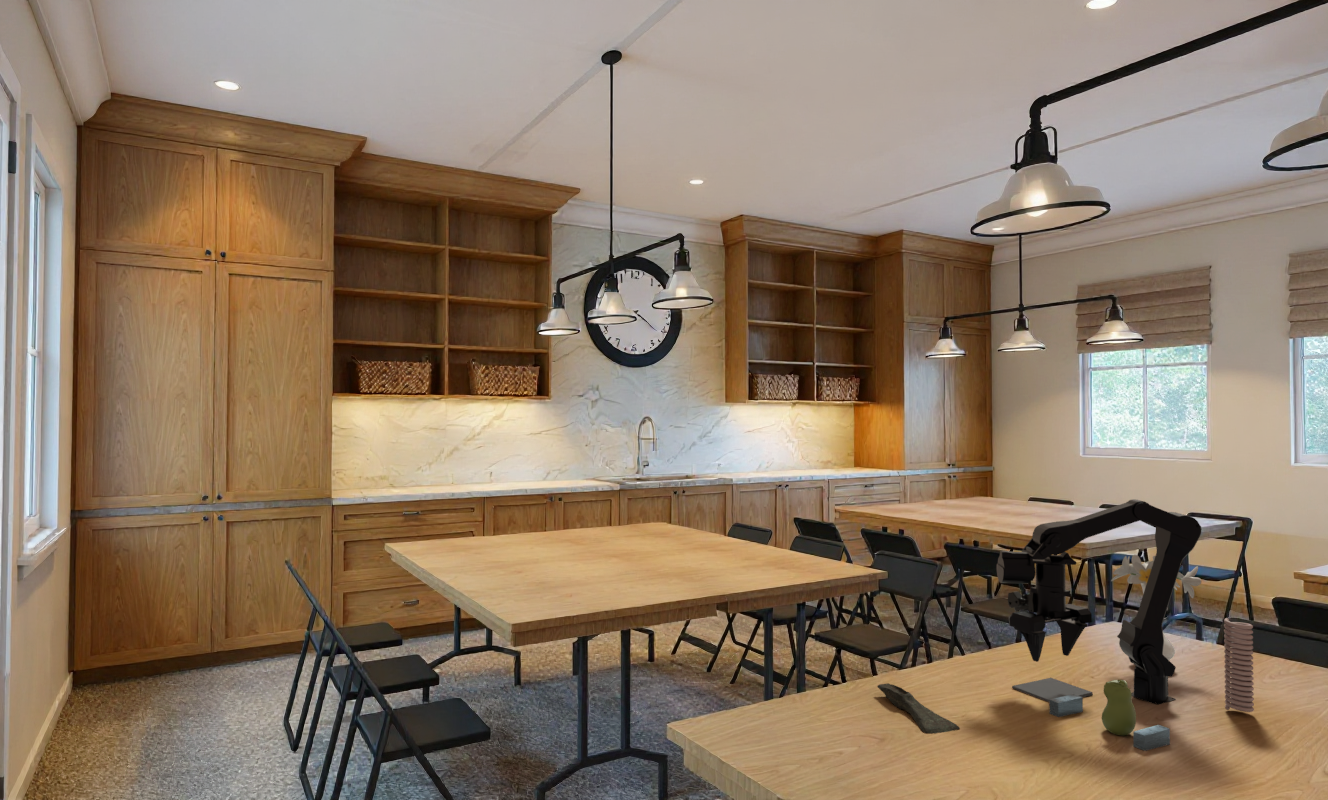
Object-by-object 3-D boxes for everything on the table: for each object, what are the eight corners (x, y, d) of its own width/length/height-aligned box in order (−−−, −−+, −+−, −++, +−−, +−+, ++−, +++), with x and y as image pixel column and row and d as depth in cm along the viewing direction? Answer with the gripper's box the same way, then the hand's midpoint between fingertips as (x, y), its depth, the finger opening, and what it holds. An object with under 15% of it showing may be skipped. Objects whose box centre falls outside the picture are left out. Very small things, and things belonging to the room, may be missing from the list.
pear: (1123, 742, 141) (1122, 686, 141) (1095, 731, 146) (1094, 677, 146) (1142, 736, 144) (1141, 681, 144) (1114, 726, 148) (1113, 673, 149)
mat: (1050, 680, 174) (1050, 677, 174) (1092, 695, 165) (1092, 692, 165) (1012, 688, 169) (1012, 685, 169) (1053, 704, 160) (1053, 701, 160)
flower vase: (1211, 671, 179) (1210, 561, 180) (1130, 671, 180) (1129, 561, 180) (1175, 653, 192) (1174, 551, 193) (1099, 653, 193) (1098, 551, 193)
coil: (1250, 709, 157) (1249, 618, 157) (1256, 717, 153) (1255, 624, 153) (1222, 705, 159) (1221, 616, 159) (1227, 713, 154) (1226, 621, 155)
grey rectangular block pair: (1073, 709, 157) (1073, 693, 157) (1169, 745, 140) (1169, 728, 140) (1049, 715, 154) (1049, 699, 154) (1144, 753, 137) (1144, 735, 137)
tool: (962, 737, 145) (963, 720, 145) (927, 742, 143) (927, 726, 142) (895, 689, 165) (896, 675, 165) (863, 693, 162) (864, 679, 162)
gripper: (1047, 573, 178) (1048, 642, 178) (988, 581, 170) (988, 653, 170) (1093, 583, 168) (1093, 656, 168) (1031, 591, 160) (1032, 668, 160)
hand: (1050, 658), depth 167 cm, fingers open, 9 cm apart
